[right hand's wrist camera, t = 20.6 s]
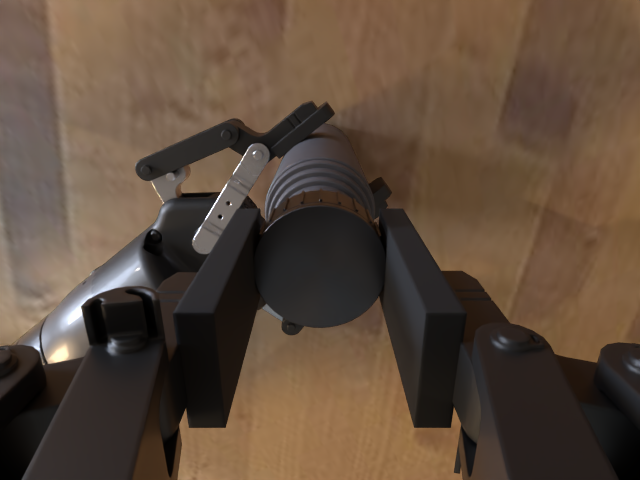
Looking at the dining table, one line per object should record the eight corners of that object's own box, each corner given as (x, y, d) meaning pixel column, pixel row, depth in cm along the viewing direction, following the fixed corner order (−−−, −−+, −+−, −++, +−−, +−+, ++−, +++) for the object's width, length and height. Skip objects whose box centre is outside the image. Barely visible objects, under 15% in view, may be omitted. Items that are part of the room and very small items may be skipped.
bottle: (344, 115, 29) (377, 170, 12) (359, 180, 30) (407, 307, 14) (278, 132, 29) (224, 209, 13) (296, 196, 31) (270, 338, 14)
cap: (407, 235, 14) (418, 256, 12) (332, 322, 15) (334, 351, 14) (305, 162, 13) (303, 174, 12) (235, 260, 14) (224, 284, 13)
